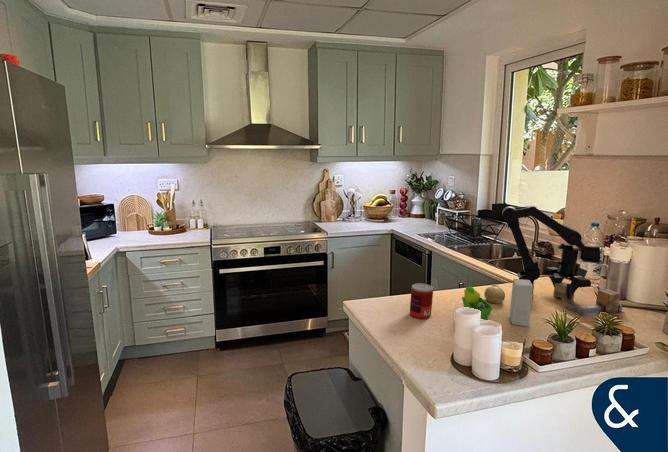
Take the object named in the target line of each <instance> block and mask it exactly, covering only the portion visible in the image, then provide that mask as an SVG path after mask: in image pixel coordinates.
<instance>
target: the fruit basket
mask: <svg viewBox="0 0 668 452" xmlns="http://www.w3.org/2000/svg"><path fill="white" fill-rule="evenodd" d="M463 292H464V296H462V297H461V300H462V303H463V304H462V305H463V308H464V307H469V308H474V309H478V310H480V311H481V319H486V320H485V321H488V319H489V317H490V315H491V312H492V311H493V309H494V308H493V306H491V305H490V304H489V303H488V301H485V300H484V298H482V297H481V294H480V293H479V292H478V291H477V290H476V289H475V288H474V287H473V286H466V287H465V289H464V291H463Z"/></svg>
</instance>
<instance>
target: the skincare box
mask: <svg viewBox="0 0 668 452" xmlns="http://www.w3.org/2000/svg"><path fill="white" fill-rule="evenodd" d="M532 291H533V292H534V289H533V285H532V283H531V282H530V280H522V279H519V278H513V279H512V289H511V299H510V309H509V318H510V322H511V324H512V325H515V326H516V325H517V326H521V327H528V328H529V327H530V320H531V311H532V310H531V309H532V299H533V294H532Z"/></svg>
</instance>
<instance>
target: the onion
mask: <svg viewBox="0 0 668 452" xmlns="http://www.w3.org/2000/svg"><path fill="white" fill-rule="evenodd" d="M483 294H484V298H485V299H486V302H489V303H491V304H501V303H502V302H504V301H505V298H506V293H505V291H504V289H503V288H501V287H500V286H499V285H498V284H495V283H491V286H488V287H487V288H486V289H485V290H484V293H483Z"/></svg>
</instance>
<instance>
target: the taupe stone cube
mask: <svg viewBox="0 0 668 452" xmlns="http://www.w3.org/2000/svg"><path fill="white" fill-rule="evenodd" d="M621 295H622V294H621V293H619V292H617V291H614V290H612V289H609V288H607V289H606V288H605V289H604V288H603V289H598V290H597V295H596V302H595V305H603V306H606V311H607V312H613V311H618V307H619V304H620V300H621Z"/></svg>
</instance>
